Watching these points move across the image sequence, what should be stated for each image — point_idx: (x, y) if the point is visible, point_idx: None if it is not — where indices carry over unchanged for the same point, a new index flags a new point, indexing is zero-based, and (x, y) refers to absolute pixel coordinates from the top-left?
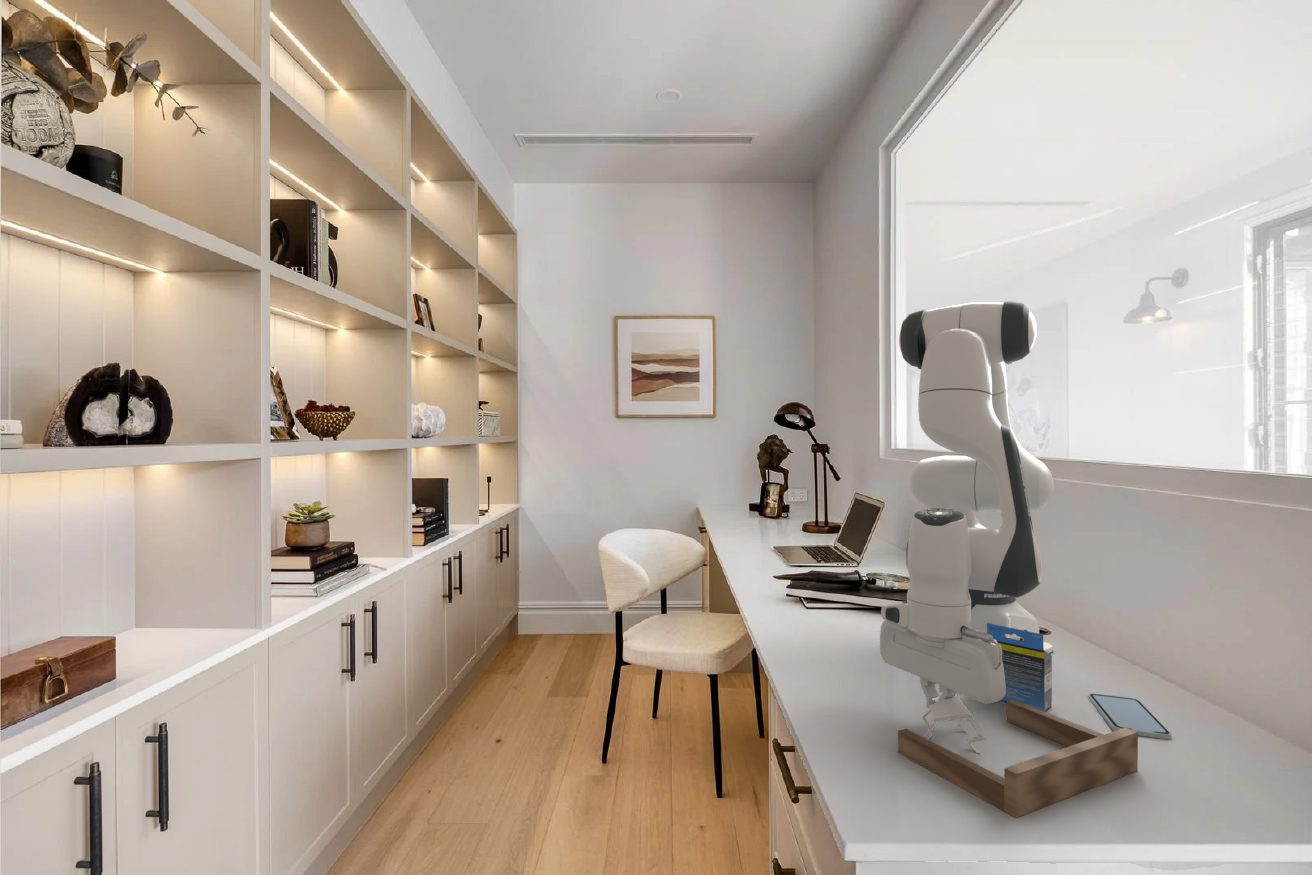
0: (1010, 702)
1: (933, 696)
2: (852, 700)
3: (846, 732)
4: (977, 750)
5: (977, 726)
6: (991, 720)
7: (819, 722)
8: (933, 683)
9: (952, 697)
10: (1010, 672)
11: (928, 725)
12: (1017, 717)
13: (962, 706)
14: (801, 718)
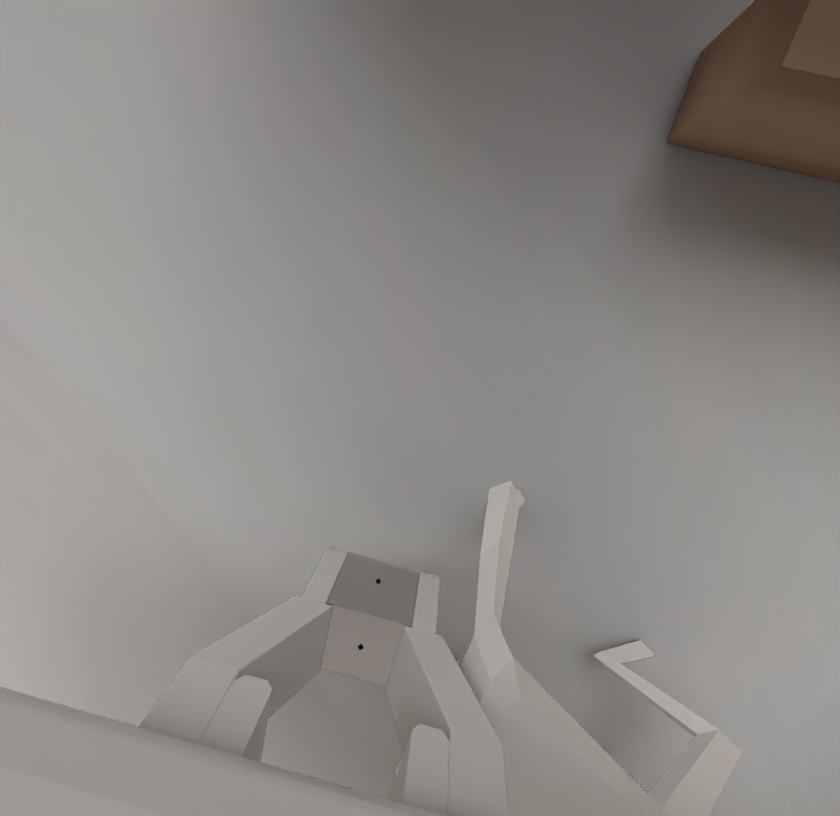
0: (829, 73)
1: (321, 647)
2: (7, 542)
3: None
4: (640, 642)
5: (714, 800)
6: (576, 226)
7: None
8: (264, 734)
9: (463, 685)
10: None
11: None
12: (801, 140)
13: (608, 811)
14: None
